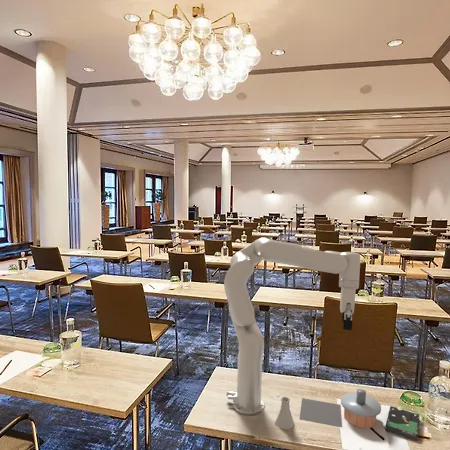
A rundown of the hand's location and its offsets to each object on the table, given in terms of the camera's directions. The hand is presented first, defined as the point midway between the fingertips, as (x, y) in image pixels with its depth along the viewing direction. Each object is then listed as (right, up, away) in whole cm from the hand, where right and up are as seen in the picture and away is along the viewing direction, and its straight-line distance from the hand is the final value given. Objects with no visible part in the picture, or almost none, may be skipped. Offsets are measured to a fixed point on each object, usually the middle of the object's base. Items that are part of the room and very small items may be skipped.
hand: (346, 325), depth 142 cm
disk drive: (+17, -34, -11) cm, 40 cm away
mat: (-12, -32, -5) cm, 35 cm away
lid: (+2, -27, -10) cm, 29 cm away
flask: (-27, -33, -14) cm, 45 cm away
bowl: (+2, -33, -9) cm, 34 cm away
